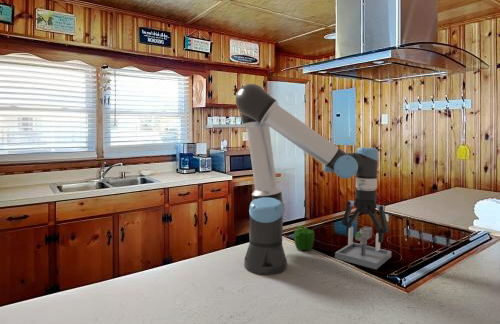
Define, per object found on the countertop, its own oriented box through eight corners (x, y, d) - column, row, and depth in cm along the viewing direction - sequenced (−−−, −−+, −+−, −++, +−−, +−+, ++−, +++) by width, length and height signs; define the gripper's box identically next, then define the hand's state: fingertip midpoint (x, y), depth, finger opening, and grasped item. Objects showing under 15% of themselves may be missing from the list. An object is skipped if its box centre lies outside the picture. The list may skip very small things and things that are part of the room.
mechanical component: (353, 257, 123) (354, 231, 122) (364, 250, 130) (365, 225, 129) (361, 259, 121) (362, 233, 120) (372, 252, 128) (373, 227, 127)
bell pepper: (311, 245, 139) (312, 222, 138) (316, 252, 131) (317, 227, 130) (291, 245, 138) (292, 222, 138) (295, 252, 130) (295, 227, 129)
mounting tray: (334, 258, 125) (335, 252, 124) (352, 247, 136) (352, 242, 136) (376, 269, 115) (376, 263, 114) (391, 256, 126) (391, 251, 126)
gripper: (333, 186, 128) (331, 242, 130) (393, 194, 113) (391, 257, 115) (342, 184, 133) (340, 238, 135) (400, 191, 119) (397, 251, 121)
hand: (363, 246), depth 125 cm, fingers open, 10 cm apart
